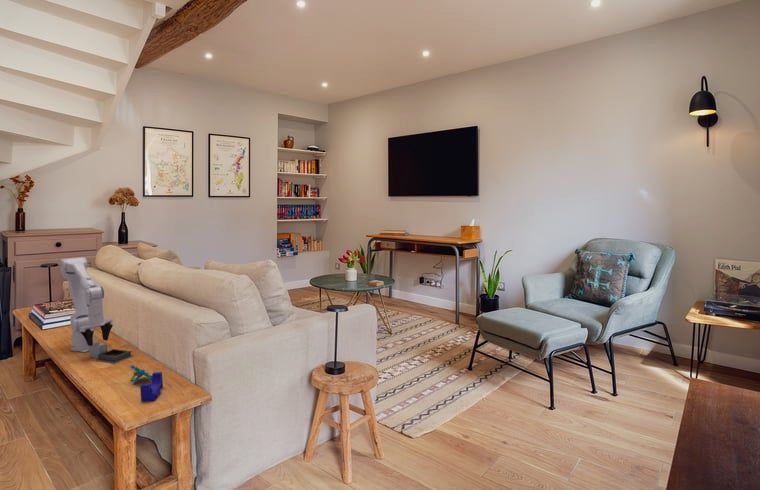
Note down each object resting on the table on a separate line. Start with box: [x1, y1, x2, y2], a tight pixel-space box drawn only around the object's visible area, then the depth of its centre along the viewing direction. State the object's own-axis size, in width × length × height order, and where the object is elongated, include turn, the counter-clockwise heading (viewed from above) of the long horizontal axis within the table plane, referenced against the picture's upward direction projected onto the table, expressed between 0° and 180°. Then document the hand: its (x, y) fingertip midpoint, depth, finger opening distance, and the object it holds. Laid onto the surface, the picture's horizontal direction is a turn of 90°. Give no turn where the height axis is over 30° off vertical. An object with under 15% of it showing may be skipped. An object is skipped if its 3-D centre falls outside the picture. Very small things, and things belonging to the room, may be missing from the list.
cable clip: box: [139, 371, 164, 402], centre depth 164 cm, size 12×4×6 cm, turn 6°
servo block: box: [89, 341, 109, 359], centre depth 202 cm, size 6×4×6 cm, turn 72°
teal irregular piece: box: [129, 364, 152, 385], centre depth 174 cm, size 11×6×10 cm
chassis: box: [94, 348, 135, 365], centre depth 199 cm, size 11×10×2 cm
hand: (98, 342), depth 201 cm, fingers open, 7 cm apart
